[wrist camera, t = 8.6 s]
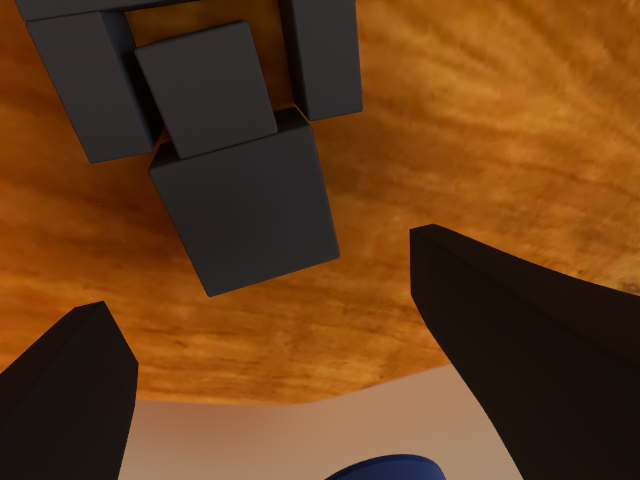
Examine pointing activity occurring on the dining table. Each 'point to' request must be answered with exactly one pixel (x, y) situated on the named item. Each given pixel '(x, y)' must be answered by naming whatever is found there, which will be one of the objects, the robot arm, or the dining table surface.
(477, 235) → the dining table surface
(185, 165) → the pad
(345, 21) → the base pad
